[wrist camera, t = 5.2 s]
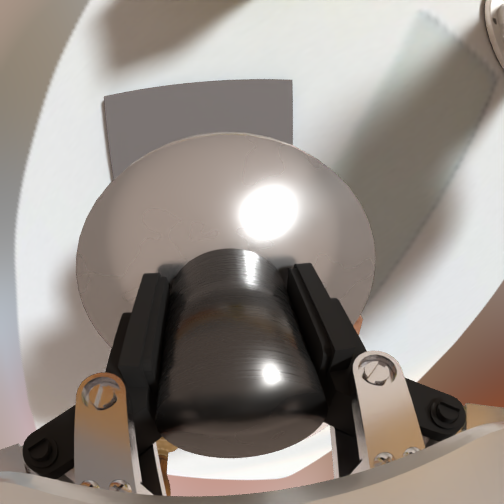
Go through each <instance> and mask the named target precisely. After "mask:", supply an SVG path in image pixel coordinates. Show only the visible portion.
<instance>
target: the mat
mask: <svg viewBox="0 0 504 504" xmlns="http://www.w3.org/2000/svg"><path fill="white" fill-rule="evenodd" d="M104 103H105V115H106V125H107V134H108V143H109V150H110V158H111V165H112V171H113V178H114V179H115V178H117V177H118V176H119V175H120V174H121V173H122V172H123V171H124V170H125V169H127V168H128V167H129V166H130V165H131V164H132V163H133V162H135V161H137V160H138V159H140V158H141V157H143V156H144V155H146V154H147V153H149V152H151V151H152V150H154V149H157V148H159V147H161V146H163V145H165V144H168V143H170V142H172V141H175V140H179V139H182V138H186V137H190V136H193V135H198V134H206V133H214V132H245V133H251V134H256V135H262V136H267V137H271V138H274V139H277V140H280V141H282V142H285V143H288V144H291V145H293V95H292V80H276V79H250V80H222V81H207V82H195V83H184V84H175V85H167V86H160V87H153V88H147V89H140V90H135V91H129V92H124V93H119V94H114V95H109V96H104Z"/></svg>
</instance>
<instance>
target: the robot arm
mask: <svg viewBox="0 0 504 504" xmlns="http://www.w3.org/2000/svg"><path fill="white" fill-rule="evenodd" d="M485 22H486V26H487V31H488V35H489V38H490V41H491V44H492V47H493V50H494V52H495V54H496V56H497V58H498V60H499V62H500V64H501V66H502V67H503V69H504V0H486V2H485ZM287 292H288V295H289V297H290V300H291V303H292V306H293V308H294V311H295V314H296V316H297V319H298V322H299V325H300V327H301V330H302V333H303V336H304V339H305V341H306V344H307V347H308V350H309V352H310V355H311V358H312V361H313V364H314V366H315V369H316V372H317V375H318V378H319V381H320V383H321V386H322V389H323V392H324V395H325V398H326V401H327V404H328V413H327V417H326V418H325V420H324V423H326V424H329V425H330V433H331V444H332V455H333V469H334V479H333V480H329V481H325V482H320V483H315V484H311V485H306V486H301V487H295V488H289V489H283V490H278V491H270V492H262V493H253V494H242V495H231V496H230V495H229V496H207V497H206V496H203V497H183V496H179V497H178V496H167V495H166V491H165V486H164V482H163V477H162V472H161V467H160V462H159V456H158V451H157V445H156V441H157V440H159V439H160V438H161V437H162V436H161V434H160V433H159V431H158V429H157V427H156V410H157V399H158V389H159V379H160V369H161V361H162V352H163V344H164V336H165V329H166V322H167V315H168V308H169V301H170V291H169V286H168V280H167V277H161V274H160V273H144V274H143V276H142V279H141V283H140V286H139V289H138V292H137V296H136V299H135V303H134V306H133V309H132V312H124V313H123V314H122V316H121V319H120V322H119V325H118V329H117V332H116V335H115V339H114V342H113V346H112V349H111V353H110V356H109V360H108V364H107V368H106V372H105V373H102V372H101V373H97V374H93V375H91V376H89V377H87V378H86V379H85V380H84V381H83V382H82V383H81V384H80V386H79V388H78V390H77V394H76V405H74V406H73V407H71V408H70V409H68V410H67V411H65V412H64V413H62V414H61V415H59V416H58V417H56V418H55V419H53V420H52V421H50V422H48V423H47V424H45V425H44V426H42V427H41V428H39V429H38V430H36V431H35V432H33V433H32V434H30V435H29V436H28V437H27V439H26V440H25V442H24V445H23V446H20V445H19V444H16V445H13V446H10V447H7V448H5V449H1V450H0V504H504V408H501V407H492V406H484V405H477V404H470V403H467V404H466V405H465V406H463V405H462V404H461V402H460V401H458V399H457V398H455V397H453V396H451V395H448V394H445V393H443V392H440V391H438V390H435V389H432V388H430V387H427V386H425V385H422V384H419V383H417V382H414V381H412V380H409V379H407V378H405V377H404V374H403V372H402V369H401V366H400V365H399V363H398V361H397V360H396V359H395V358H394V357H392V356H391V355H389V354H387V353H384V352H381V351H368V352H367V351H366V349H365V347H364V345H363V343H362V341H361V340H360V338H359V336H358V334H357V332H356V330H355V328H354V327H353V325H352V323H351V321H350V319H349V317H348V316H347V314H346V312H345V310H344V308H343V307H342V305H341V303H340V301H339V300H338V299H337V298H330V296H329V294H328V293H327V291H326V289H325V287H324V285H323V283H322V282H321V280H320V278H319V276H318V274H317V272H316V271H315V269H314V267H313V265H312V264H311V263H300V264H294V267H293V268H289V270H288V278H287Z"/></svg>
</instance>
